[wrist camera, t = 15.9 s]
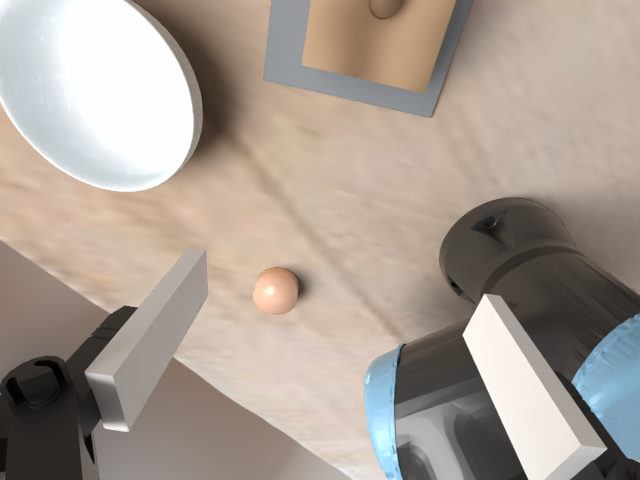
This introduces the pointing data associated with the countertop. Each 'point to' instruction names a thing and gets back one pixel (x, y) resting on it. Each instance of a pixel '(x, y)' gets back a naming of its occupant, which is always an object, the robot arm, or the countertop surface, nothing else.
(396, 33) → the walnut cover
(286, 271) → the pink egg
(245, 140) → the countertop surface
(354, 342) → the countertop surface
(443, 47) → the slate mat
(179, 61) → the cereal bowl
